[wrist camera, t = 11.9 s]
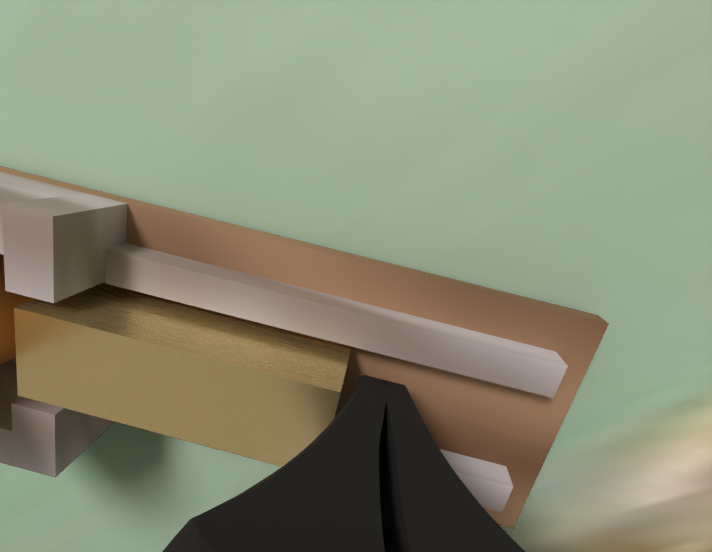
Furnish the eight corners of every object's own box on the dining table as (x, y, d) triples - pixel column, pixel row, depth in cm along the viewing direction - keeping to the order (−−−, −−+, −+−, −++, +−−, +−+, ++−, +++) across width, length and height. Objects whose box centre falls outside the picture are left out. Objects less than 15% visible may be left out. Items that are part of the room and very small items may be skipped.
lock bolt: (334, 414, 12) (319, 476, 10) (90, 350, 12) (17, 395, 10) (352, 343, 11) (340, 392, 9) (91, 277, 12) (14, 307, 9)
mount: (507, 512, 13) (539, 612, 10) (-70, 358, 14) (-194, 412, 11) (597, 315, 11) (669, 372, 8) (-95, 142, 12) (-260, 137, 9)
